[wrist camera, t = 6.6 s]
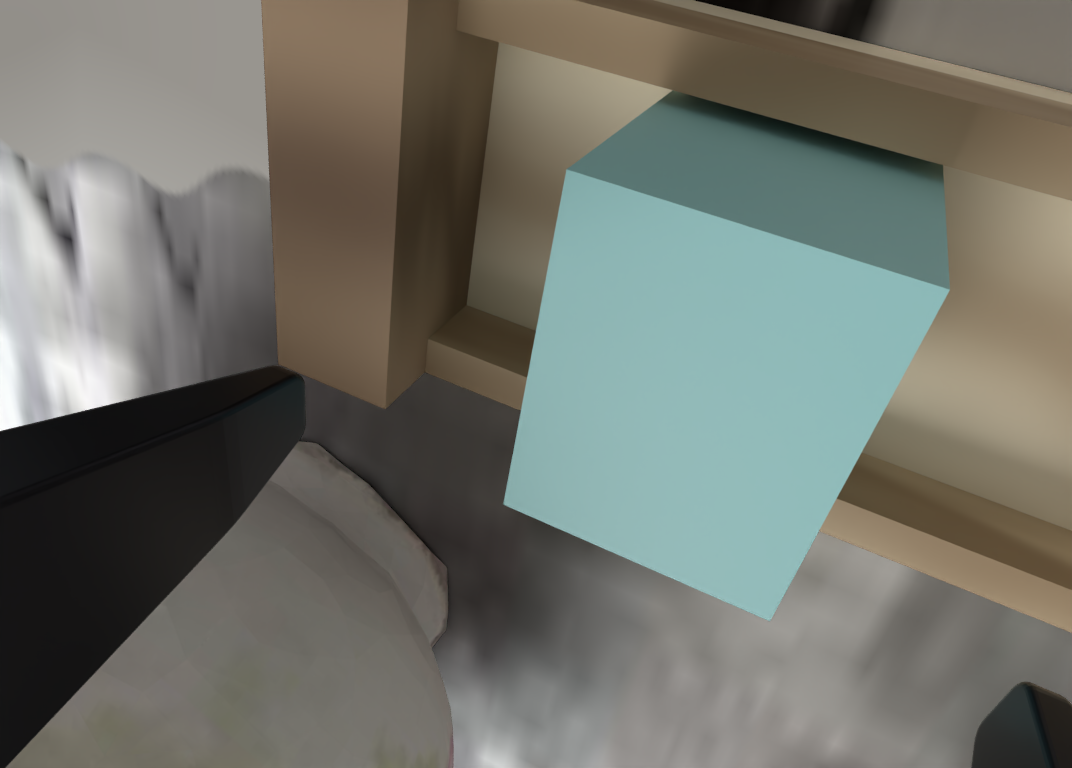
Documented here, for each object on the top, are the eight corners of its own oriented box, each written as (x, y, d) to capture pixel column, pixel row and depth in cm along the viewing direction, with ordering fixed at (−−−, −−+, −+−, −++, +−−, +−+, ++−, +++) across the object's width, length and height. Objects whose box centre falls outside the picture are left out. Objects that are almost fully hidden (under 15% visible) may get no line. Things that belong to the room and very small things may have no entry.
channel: (1571, 726, 16) (1783, 999, 12) (391, 283, 22) (278, 364, 18) (2197, 369, 10) (2952, 649, 7) (410, -70, 17) (258, -61, 13)
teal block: (811, 429, 18) (769, 621, 13) (608, 354, 19) (503, 504, 14) (942, 158, 14) (949, 289, 9) (678, 86, 15) (566, 168, 10)
